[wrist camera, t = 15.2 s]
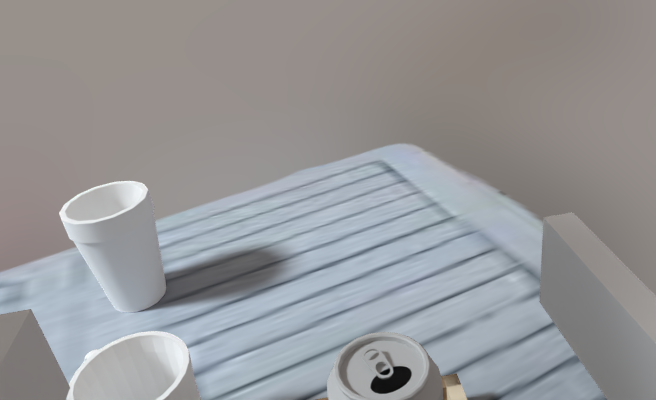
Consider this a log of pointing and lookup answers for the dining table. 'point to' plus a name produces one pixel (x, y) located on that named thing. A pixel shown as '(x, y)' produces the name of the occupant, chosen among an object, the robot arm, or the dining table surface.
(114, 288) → the foam cup
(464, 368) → the dining table surface
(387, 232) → the dining table surface
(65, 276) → the dining table surface
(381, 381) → the can
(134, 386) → the mug
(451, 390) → the holder
